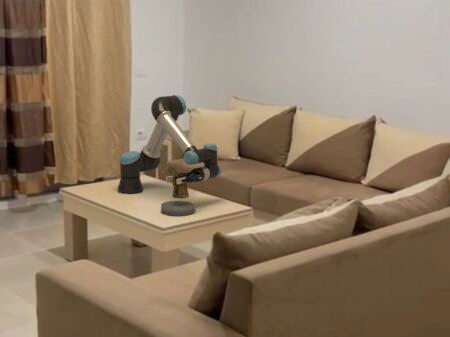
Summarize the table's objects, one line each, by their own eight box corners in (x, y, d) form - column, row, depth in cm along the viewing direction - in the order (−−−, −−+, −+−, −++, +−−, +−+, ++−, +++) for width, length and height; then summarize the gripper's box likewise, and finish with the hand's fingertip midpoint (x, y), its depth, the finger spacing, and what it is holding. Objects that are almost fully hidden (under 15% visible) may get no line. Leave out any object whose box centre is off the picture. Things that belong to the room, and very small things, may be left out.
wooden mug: (163, 198, 399) (162, 165, 396) (180, 193, 410) (179, 161, 406) (175, 201, 394) (175, 167, 390) (192, 196, 404) (192, 163, 401)
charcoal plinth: (160, 207, 411) (160, 200, 411) (193, 207, 413) (193, 200, 413) (161, 216, 394) (161, 209, 393) (195, 216, 396) (195, 208, 395)
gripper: (213, 183, 408) (185, 190, 391) (186, 178, 420) (158, 185, 403) (213, 169, 407) (185, 176, 389) (186, 165, 419) (158, 171, 401)
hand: (171, 180), depth 396 cm, fingers closed on wooden mug, 7 cm apart
